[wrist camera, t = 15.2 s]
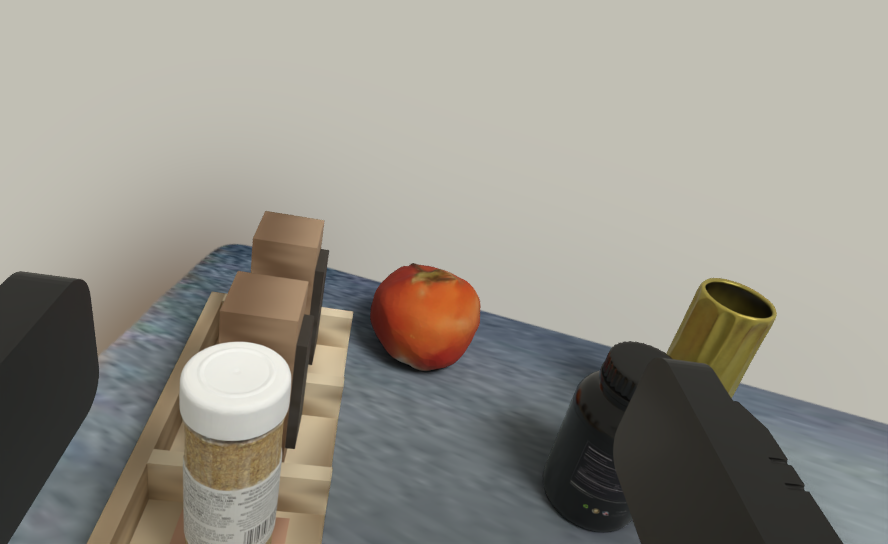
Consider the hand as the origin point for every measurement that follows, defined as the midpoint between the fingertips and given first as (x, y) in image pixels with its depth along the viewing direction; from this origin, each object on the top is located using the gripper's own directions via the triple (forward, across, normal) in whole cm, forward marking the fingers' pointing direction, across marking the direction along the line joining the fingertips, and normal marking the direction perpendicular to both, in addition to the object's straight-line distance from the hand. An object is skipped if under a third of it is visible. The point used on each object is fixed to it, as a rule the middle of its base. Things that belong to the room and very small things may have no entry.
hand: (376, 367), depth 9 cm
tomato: (+36, -6, +28) cm, 46 cm away
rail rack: (+22, +5, +27) cm, 35 cm away
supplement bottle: (+22, -18, +28) cm, 39 cm away
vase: (+28, -26, +28) cm, 47 cm away
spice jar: (+13, +5, +26) cm, 30 cm away
